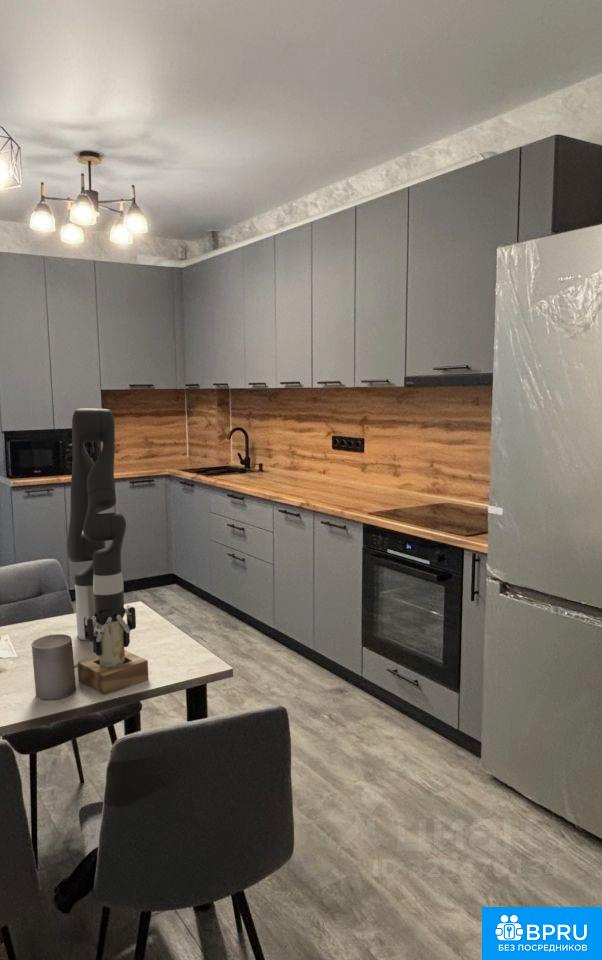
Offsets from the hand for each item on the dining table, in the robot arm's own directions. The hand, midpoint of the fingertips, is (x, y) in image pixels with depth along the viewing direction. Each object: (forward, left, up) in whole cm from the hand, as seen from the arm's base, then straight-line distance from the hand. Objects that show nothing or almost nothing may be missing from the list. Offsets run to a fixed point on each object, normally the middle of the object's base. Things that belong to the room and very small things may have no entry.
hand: (112, 650), depth 186 cm
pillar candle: (-5, -14, -8) cm, 17 cm away
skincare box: (0, 0, -4) cm, 4 cm away
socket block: (0, 0, -8) cm, 8 cm away
